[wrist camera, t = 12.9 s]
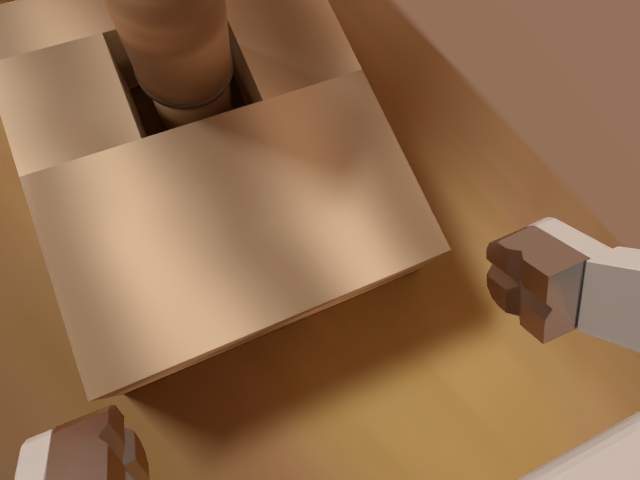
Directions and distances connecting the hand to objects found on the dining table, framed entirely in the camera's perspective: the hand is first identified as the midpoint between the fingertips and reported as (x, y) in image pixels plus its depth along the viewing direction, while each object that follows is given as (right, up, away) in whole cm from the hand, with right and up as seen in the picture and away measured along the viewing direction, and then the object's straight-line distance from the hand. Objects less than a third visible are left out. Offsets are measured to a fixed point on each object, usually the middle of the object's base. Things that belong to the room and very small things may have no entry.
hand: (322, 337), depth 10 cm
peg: (-6, +8, +13) cm, 17 cm away
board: (-5, +5, +13) cm, 15 cm away
